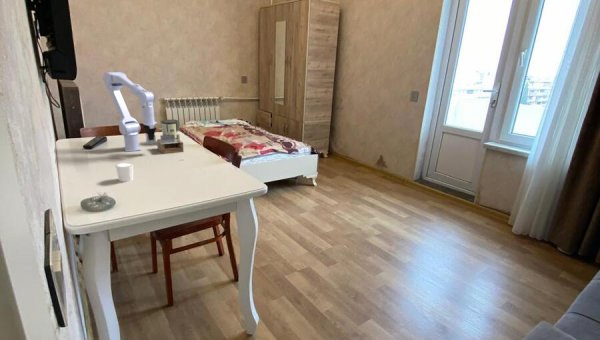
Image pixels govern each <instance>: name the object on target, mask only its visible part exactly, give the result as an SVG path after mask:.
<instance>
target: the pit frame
mask: <svg viewBox="0 0 600 340" xmlns="http://www.w3.org/2000/svg"><path fill="white" fill-rule="evenodd" d="M160 139H161V138H160ZM160 139H157V140H156V144H157V149H158V151H159V152H160V153H161V154H162V155H165V154H175V153H184V142H183V141H181V140H179V139H178V138H175V139H176V140H177V141H179V143H170V144H163V143H162V142H161V141H160Z"/></svg>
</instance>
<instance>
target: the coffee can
mask: <svg viewBox="0 0 600 340" xmlns="http://www.w3.org/2000/svg"><path fill="white" fill-rule="evenodd" d="M160 123H161V132H162V135H173V134H174V136H175V138H178V139H179V140H180V139H181V138H180V125H179V124H180V123H179V120H178V119H163V120H161V121H160ZM180 141H181V140H180Z"/></svg>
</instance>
